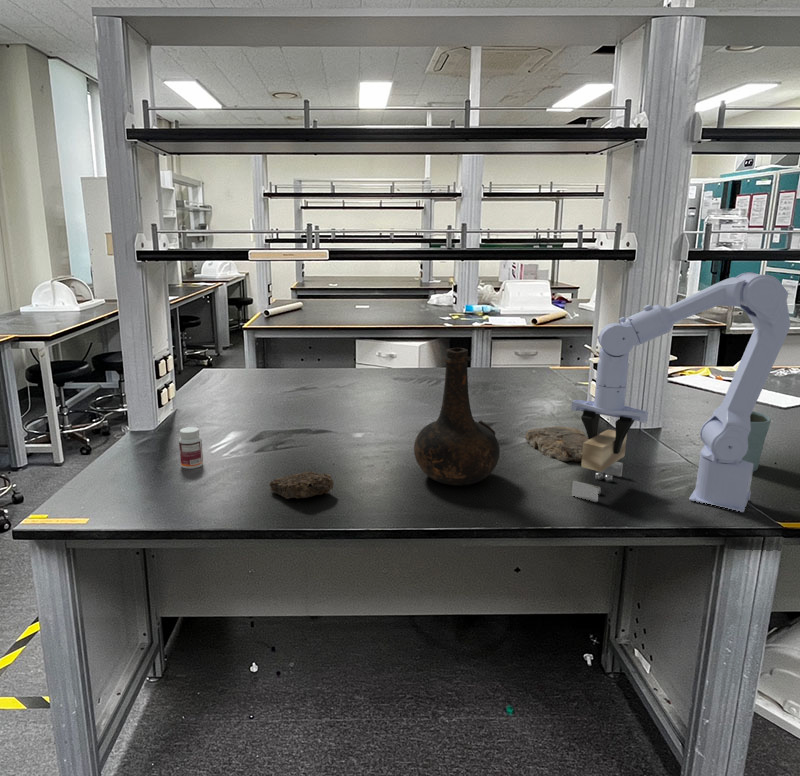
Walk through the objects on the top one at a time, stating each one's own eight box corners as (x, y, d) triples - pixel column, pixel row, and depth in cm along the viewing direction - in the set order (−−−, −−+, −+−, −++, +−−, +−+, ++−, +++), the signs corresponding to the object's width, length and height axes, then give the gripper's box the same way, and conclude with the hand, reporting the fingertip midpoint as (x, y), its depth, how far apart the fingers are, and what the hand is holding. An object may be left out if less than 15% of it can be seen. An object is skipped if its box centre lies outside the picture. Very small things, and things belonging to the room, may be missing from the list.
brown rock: (339, 498, 120) (339, 474, 118) (293, 511, 114) (292, 486, 112) (310, 480, 128) (309, 457, 127) (266, 491, 122) (265, 468, 121)
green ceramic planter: (731, 455, 145) (738, 406, 142) (772, 469, 137) (781, 418, 134) (702, 461, 141) (709, 412, 138) (744, 476, 132) (752, 424, 129)
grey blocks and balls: (621, 476, 132) (622, 463, 131) (596, 502, 118) (597, 488, 118) (598, 470, 135) (599, 458, 134) (571, 496, 121) (572, 482, 121)
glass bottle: (512, 489, 124) (519, 355, 118) (429, 499, 119) (432, 359, 113) (477, 459, 141) (482, 340, 134) (403, 467, 136) (404, 343, 129)
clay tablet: (614, 465, 139) (572, 436, 158) (616, 445, 138) (573, 418, 157) (558, 471, 136) (522, 441, 155) (559, 450, 135) (522, 423, 154)
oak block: (624, 456, 126) (627, 433, 125) (600, 471, 118) (602, 447, 116) (606, 451, 129) (608, 429, 128) (581, 466, 120) (583, 442, 119)
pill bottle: (185, 461, 138) (182, 426, 136) (206, 461, 138) (203, 426, 136) (177, 469, 134) (174, 432, 132) (198, 469, 133) (196, 433, 131)
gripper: (654, 386, 119) (647, 451, 122) (581, 376, 127) (576, 438, 130) (645, 393, 113) (638, 461, 116) (569, 382, 121) (564, 446, 124)
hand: (604, 450), depth 123 cm, fingers closed on oak block, 4 cm apart
